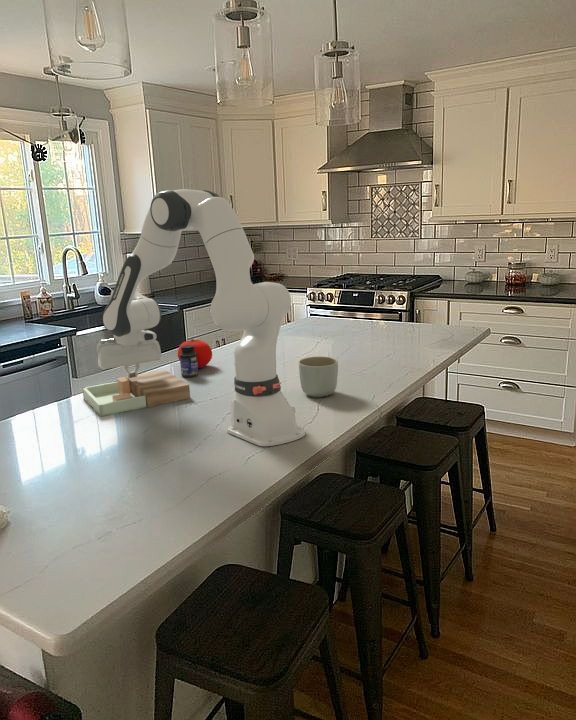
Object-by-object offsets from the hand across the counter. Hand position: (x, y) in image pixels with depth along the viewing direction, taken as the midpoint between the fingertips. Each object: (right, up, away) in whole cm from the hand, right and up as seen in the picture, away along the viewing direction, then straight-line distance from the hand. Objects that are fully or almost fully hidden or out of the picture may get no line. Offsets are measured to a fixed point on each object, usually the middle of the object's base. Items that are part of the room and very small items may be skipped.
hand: (132, 377), depth 195 cm
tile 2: (-2, -3, 0) cm, 3 cm away
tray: (-4, -8, -7) cm, 11 cm away
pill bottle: (+16, 0, +20) cm, 26 cm away
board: (+8, -5, 0) cm, 10 cm away
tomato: (+16, +3, +31) cm, 35 cm away
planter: (+61, -5, -6) cm, 62 cm away
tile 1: (0, -6, -11) cm, 12 cm away
